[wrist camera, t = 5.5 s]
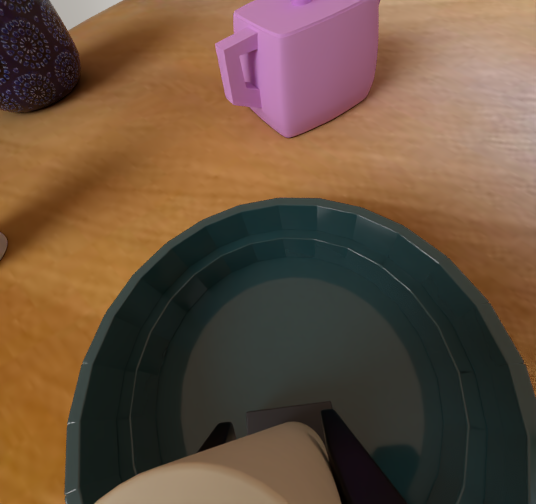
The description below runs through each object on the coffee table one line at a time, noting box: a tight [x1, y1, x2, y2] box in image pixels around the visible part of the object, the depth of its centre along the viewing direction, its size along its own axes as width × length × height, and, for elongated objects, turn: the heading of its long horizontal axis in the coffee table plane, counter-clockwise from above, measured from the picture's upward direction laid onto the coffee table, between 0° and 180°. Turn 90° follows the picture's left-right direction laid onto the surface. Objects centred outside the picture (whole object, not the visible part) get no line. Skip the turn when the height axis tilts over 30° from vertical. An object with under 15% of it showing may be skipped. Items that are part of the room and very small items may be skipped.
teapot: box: [215, 0, 380, 138], centre depth 26 cm, size 18×10×10 cm, turn 122°
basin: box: [65, 198, 536, 504], centre depth 13 cm, size 18×18×6 cm
